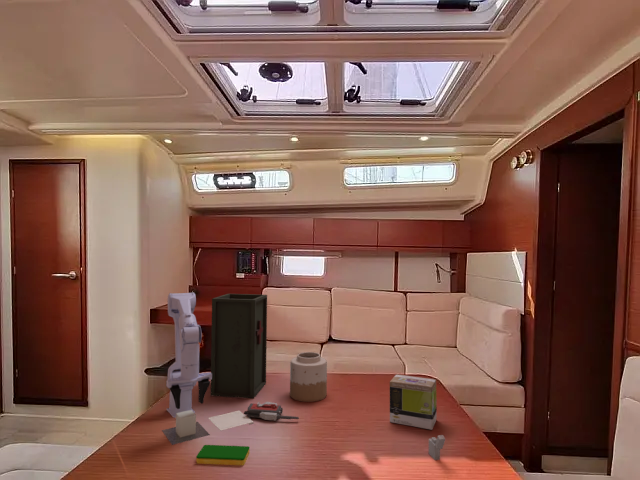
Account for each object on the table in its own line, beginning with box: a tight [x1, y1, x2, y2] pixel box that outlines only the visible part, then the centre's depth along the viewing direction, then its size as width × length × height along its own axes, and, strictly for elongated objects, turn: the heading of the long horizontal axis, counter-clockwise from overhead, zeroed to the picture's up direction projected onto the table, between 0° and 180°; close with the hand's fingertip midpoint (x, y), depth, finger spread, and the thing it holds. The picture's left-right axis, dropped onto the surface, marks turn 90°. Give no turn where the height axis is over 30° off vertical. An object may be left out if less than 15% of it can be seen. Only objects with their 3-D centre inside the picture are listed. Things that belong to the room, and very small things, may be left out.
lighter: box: [428, 434, 446, 461], centre depth 120 cm, size 7×2×8 cm, turn 11°
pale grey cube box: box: [175, 410, 197, 437], centre depth 133 cm, size 5×5×6 cm
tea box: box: [389, 374, 438, 431], centre depth 145 cm, size 15×10×15 cm, turn 65°
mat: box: [208, 410, 255, 432], centre depth 143 cm, size 12×12×1 cm
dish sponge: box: [195, 444, 251, 466], centre depth 119 cm, size 7×14×2 cm, turn 87°
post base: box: [161, 421, 211, 446], centre depth 133 cm, size 12×12×4 cm
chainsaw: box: [243, 401, 300, 421], centre depth 148 cm, size 9×4×20 cm
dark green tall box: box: [210, 293, 268, 399], centre depth 176 cm, size 18×18×40 cm
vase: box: [289, 351, 328, 403], centre depth 170 cm, size 15×15×17 cm
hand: (189, 405), depth 133 cm, fingers open, 7 cm apart
